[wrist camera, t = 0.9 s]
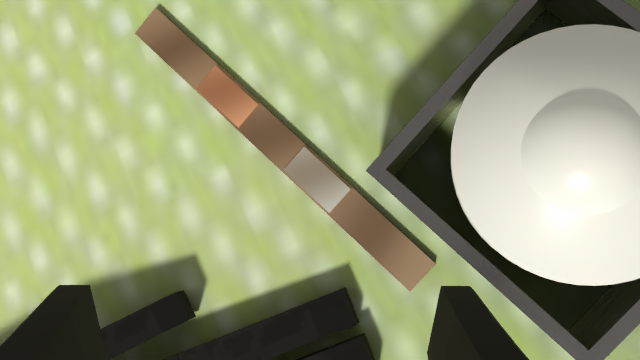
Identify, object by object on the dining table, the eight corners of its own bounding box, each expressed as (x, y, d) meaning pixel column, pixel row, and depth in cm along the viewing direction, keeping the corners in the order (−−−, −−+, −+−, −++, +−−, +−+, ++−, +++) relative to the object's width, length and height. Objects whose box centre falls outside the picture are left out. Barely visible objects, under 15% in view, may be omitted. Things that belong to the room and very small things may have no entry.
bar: (435, 263, 28) (435, 263, 27) (410, 290, 28) (409, 291, 28) (158, 9, 32) (154, 7, 31) (137, 34, 32) (134, 32, 32)
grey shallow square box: (761, 155, 25) (818, 143, 21) (569, 349, 26) (590, 373, 22) (544, -9, 28) (560, -46, 24) (376, 176, 29) (365, 170, 25)
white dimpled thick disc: (742, 152, 24) (822, 135, 19) (575, 322, 25) (609, 350, 20) (553, 9, 26) (579, -42, 20) (405, 172, 26) (396, 161, 21)
